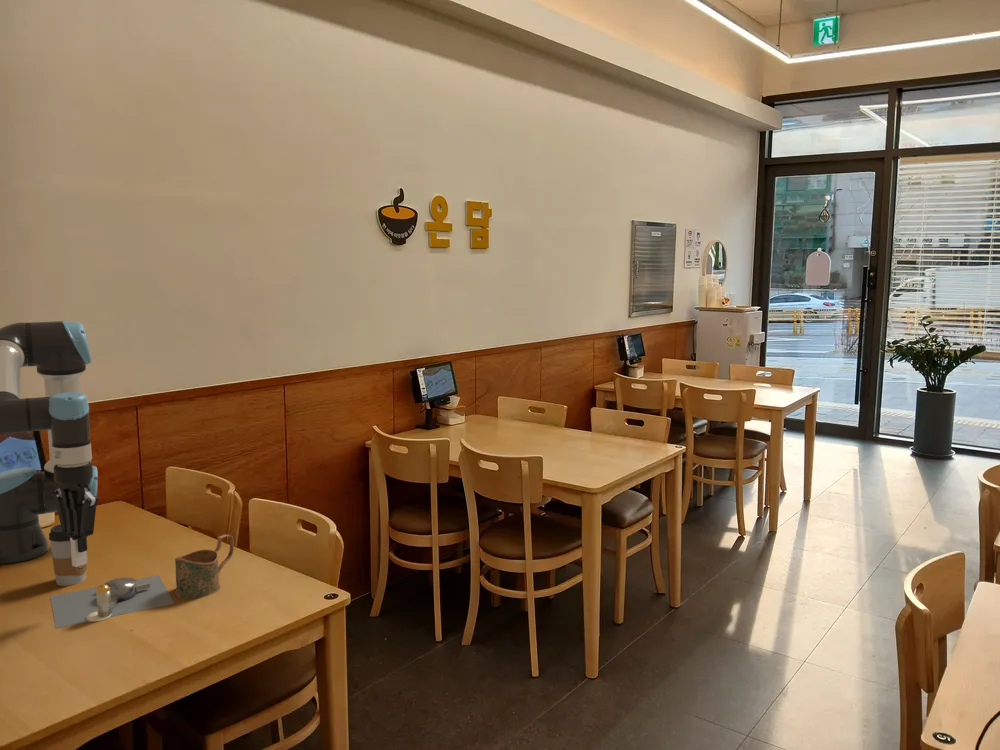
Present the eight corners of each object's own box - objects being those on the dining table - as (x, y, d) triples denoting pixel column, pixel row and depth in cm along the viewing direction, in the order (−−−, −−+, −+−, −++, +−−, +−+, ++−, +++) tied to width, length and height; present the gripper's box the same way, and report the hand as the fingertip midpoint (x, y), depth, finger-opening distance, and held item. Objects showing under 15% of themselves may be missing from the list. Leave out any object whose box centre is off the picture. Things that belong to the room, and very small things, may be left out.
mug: (251, 581, 197) (249, 535, 195) (197, 607, 181) (195, 558, 179) (216, 573, 202) (214, 528, 200) (161, 599, 186) (159, 550, 184)
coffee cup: (74, 593, 189) (69, 533, 187) (44, 590, 191) (39, 531, 189) (98, 579, 197) (94, 522, 195) (69, 577, 199) (65, 520, 197)
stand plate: (50, 600, 184) (50, 594, 184) (159, 579, 197) (158, 573, 197) (56, 635, 167) (56, 628, 167) (175, 609, 180) (174, 603, 180)
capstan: (99, 590, 187) (97, 561, 186) (151, 587, 189) (149, 559, 188) (73, 620, 171) (71, 589, 170) (131, 616, 173) (129, 585, 172)
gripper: (37, 462, 171) (45, 564, 175) (75, 471, 165) (83, 576, 169) (69, 455, 178) (76, 553, 181) (107, 463, 172) (113, 564, 176)
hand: (79, 564), depth 175 cm, fingers closed
